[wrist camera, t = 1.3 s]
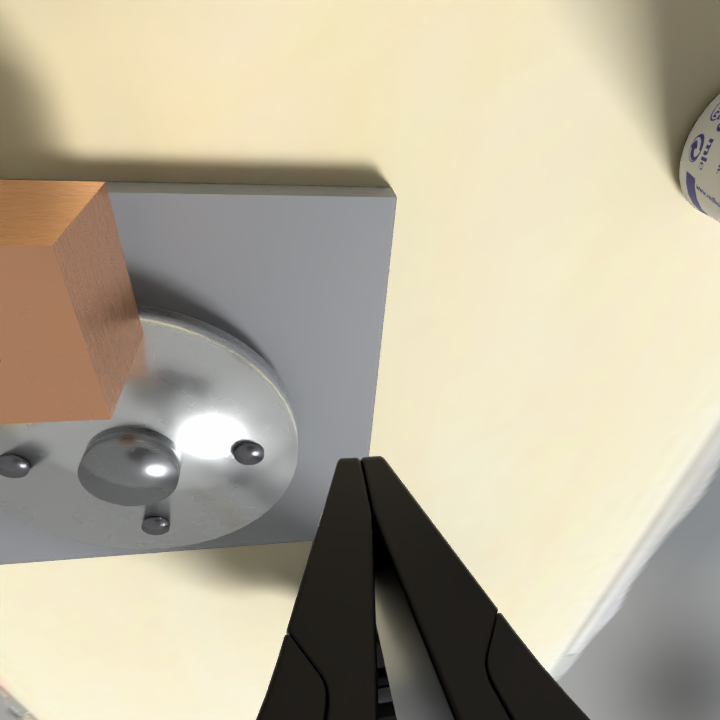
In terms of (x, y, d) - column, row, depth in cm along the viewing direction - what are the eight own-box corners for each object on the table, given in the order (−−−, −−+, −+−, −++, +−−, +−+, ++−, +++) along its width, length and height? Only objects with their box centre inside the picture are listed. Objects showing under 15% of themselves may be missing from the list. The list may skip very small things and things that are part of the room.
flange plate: (299, 515, 26) (302, 619, 22) (29, 534, 24) (-24, 652, 20) (291, 171, 15) (295, 246, 11) (-198, 159, 13) (-416, 243, 9)
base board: (357, 521, 30) (361, 544, 28) (-6, 548, 27) (-19, 574, 26) (391, 187, 17) (399, 202, 16) (-268, 174, 15) (-316, 191, 14)
